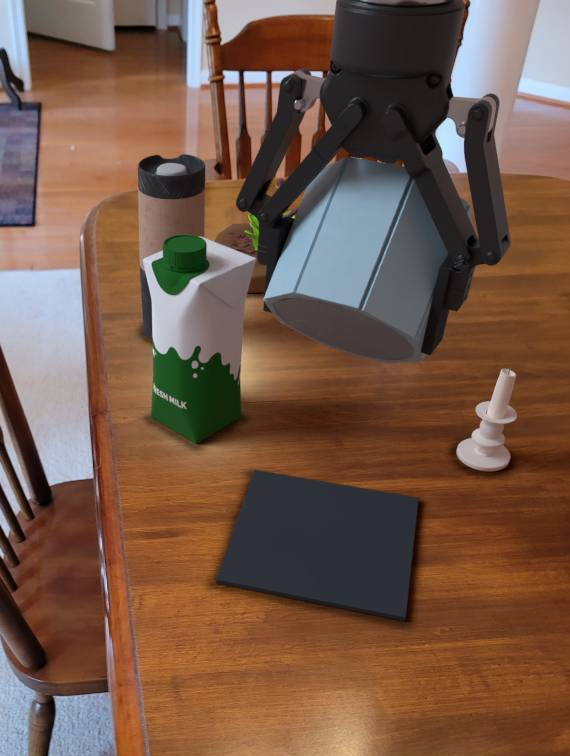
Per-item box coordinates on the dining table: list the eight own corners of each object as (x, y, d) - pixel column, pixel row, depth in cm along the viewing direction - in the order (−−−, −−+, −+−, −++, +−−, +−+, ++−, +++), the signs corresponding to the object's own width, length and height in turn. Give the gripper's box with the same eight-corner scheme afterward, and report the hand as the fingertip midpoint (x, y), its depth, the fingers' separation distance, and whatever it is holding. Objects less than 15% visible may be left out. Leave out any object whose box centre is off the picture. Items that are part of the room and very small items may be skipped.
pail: (333, 225, 70) (300, 147, 59) (475, 255, 65) (468, 177, 54) (289, 337, 70) (248, 280, 59) (427, 375, 66) (411, 321, 55)
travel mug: (173, 351, 101) (174, 181, 87) (128, 330, 105) (122, 165, 91) (214, 328, 105) (220, 163, 92) (169, 309, 109) (169, 147, 95)
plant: (347, 241, 124) (358, 163, 117) (345, 301, 110) (357, 217, 103) (214, 233, 127) (216, 155, 119) (195, 290, 113) (196, 207, 105)
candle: (494, 438, 87) (522, 350, 80) (518, 468, 83) (550, 378, 76) (447, 444, 87) (471, 355, 80) (469, 474, 83) (496, 384, 76)
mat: (417, 501, 80) (418, 497, 79) (404, 621, 69) (406, 617, 68) (253, 473, 83) (254, 469, 83) (215, 583, 72) (215, 579, 72)
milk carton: (138, 417, 91) (132, 236, 77) (196, 386, 95) (200, 210, 82) (196, 451, 86) (201, 265, 72) (254, 416, 91) (269, 235, 77)
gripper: (192, -17, 52) (188, 306, 66) (607, 25, 42) (496, 391, 57) (248, -35, 56) (233, 270, 71) (633, -1, 47) (524, 343, 61)
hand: (350, 324), depth 64 cm, fingers closed on pail, 12 cm apart
